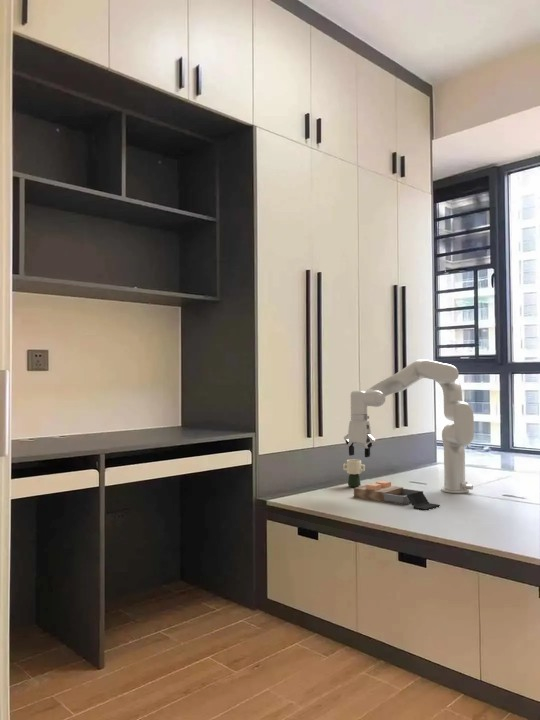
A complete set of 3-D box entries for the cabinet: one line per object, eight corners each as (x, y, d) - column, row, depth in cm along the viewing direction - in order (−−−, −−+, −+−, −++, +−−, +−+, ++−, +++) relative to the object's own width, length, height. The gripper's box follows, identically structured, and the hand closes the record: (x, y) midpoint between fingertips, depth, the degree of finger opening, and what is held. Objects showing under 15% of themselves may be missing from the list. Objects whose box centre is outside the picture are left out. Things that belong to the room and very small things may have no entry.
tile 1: (381, 488, 279) (381, 484, 279) (375, 490, 275) (375, 485, 275) (372, 487, 282) (372, 483, 282) (365, 489, 278) (365, 484, 278)
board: (403, 496, 282) (403, 487, 282) (384, 501, 270) (384, 492, 270) (373, 491, 293) (373, 483, 293) (353, 496, 281) (353, 488, 281)
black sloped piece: (430, 507, 251) (417, 486, 256) (417, 517, 254) (404, 495, 259) (442, 506, 260) (429, 486, 265) (429, 515, 263) (416, 495, 268)
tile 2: (391, 486, 284) (391, 481, 284) (385, 487, 281) (385, 483, 281) (381, 485, 288) (381, 480, 288) (375, 486, 284) (375, 482, 284)
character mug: (366, 486, 307) (366, 459, 307) (364, 488, 300) (363, 461, 300) (344, 485, 310) (344, 459, 310) (341, 487, 304) (341, 461, 304)
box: (423, 499, 275) (423, 491, 275) (404, 505, 263) (404, 496, 263) (403, 496, 282) (403, 488, 282) (384, 501, 270) (384, 493, 270)
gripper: (379, 418, 281) (380, 457, 281) (348, 416, 293) (348, 453, 293) (370, 419, 276) (370, 458, 275) (338, 417, 287) (339, 455, 287)
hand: (359, 455), depth 284 cm, fingers open, 8 cm apart
